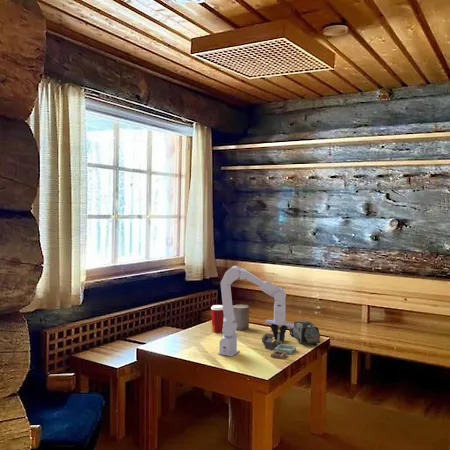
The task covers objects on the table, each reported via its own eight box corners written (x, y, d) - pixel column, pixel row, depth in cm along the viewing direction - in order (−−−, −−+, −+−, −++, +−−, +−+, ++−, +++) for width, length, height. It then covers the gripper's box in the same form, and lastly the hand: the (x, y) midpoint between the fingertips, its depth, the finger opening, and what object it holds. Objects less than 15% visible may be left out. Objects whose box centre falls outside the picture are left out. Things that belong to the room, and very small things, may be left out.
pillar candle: (248, 326, 304) (248, 302, 303) (249, 330, 294) (249, 305, 293) (232, 326, 304) (232, 302, 303) (232, 330, 294) (232, 305, 294)
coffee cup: (227, 331, 293) (227, 305, 292) (219, 334, 286) (220, 308, 285) (214, 328, 297) (215, 304, 296) (207, 332, 290) (207, 306, 289)
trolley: (276, 345, 265) (276, 332, 264) (261, 343, 269) (262, 330, 268) (284, 340, 276) (285, 327, 275) (270, 337, 280) (270, 325, 279)
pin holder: (282, 358, 243) (282, 355, 243) (270, 356, 246) (270, 353, 246) (286, 355, 249) (286, 352, 249) (275, 353, 252) (275, 350, 251)
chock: (272, 350, 258) (273, 341, 258) (264, 348, 260) (265, 340, 260) (277, 346, 264) (277, 338, 264) (269, 345, 266) (269, 336, 266)
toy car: (305, 333, 290) (306, 316, 290) (320, 346, 266) (321, 327, 266) (288, 334, 289) (288, 317, 288) (301, 346, 264) (302, 328, 264)
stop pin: (280, 344, 246) (280, 333, 245) (275, 344, 247) (275, 332, 246) (281, 343, 248) (282, 331, 247) (277, 343, 249) (277, 331, 248)
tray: (290, 354, 250) (290, 350, 250) (274, 352, 254) (274, 348, 254) (295, 350, 258) (296, 346, 258) (280, 347, 262) (280, 343, 262)
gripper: (296, 313, 247) (295, 340, 247) (269, 309, 253) (268, 335, 254) (291, 316, 240) (290, 343, 241) (263, 312, 247) (263, 339, 248)
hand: (278, 339), depth 247 cm, fingers closed on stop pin, 2 cm apart
